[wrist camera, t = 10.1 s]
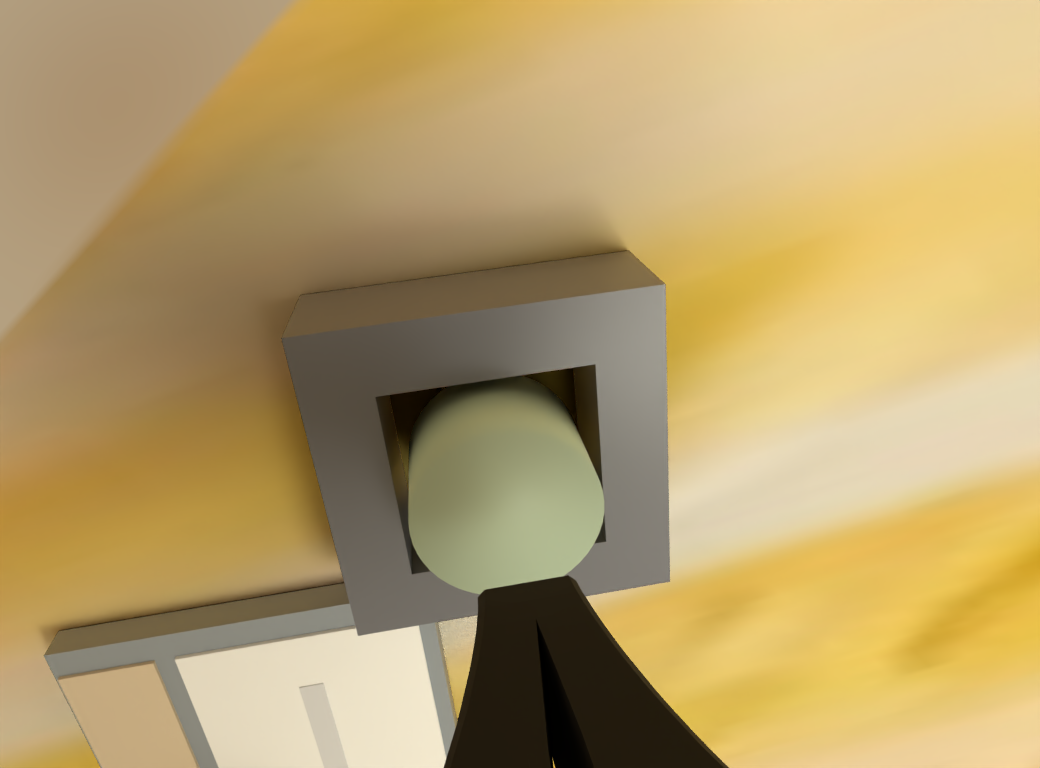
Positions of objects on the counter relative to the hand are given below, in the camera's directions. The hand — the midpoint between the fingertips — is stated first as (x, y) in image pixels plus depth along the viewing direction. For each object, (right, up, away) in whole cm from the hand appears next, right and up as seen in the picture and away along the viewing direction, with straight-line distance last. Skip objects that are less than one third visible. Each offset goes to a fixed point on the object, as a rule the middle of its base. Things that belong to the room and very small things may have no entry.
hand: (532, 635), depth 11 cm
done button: (-1, +2, +5) cm, 6 cm away
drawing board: (-6, -7, +10) cm, 14 cm away
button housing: (-1, +3, +6) cm, 7 cm away
